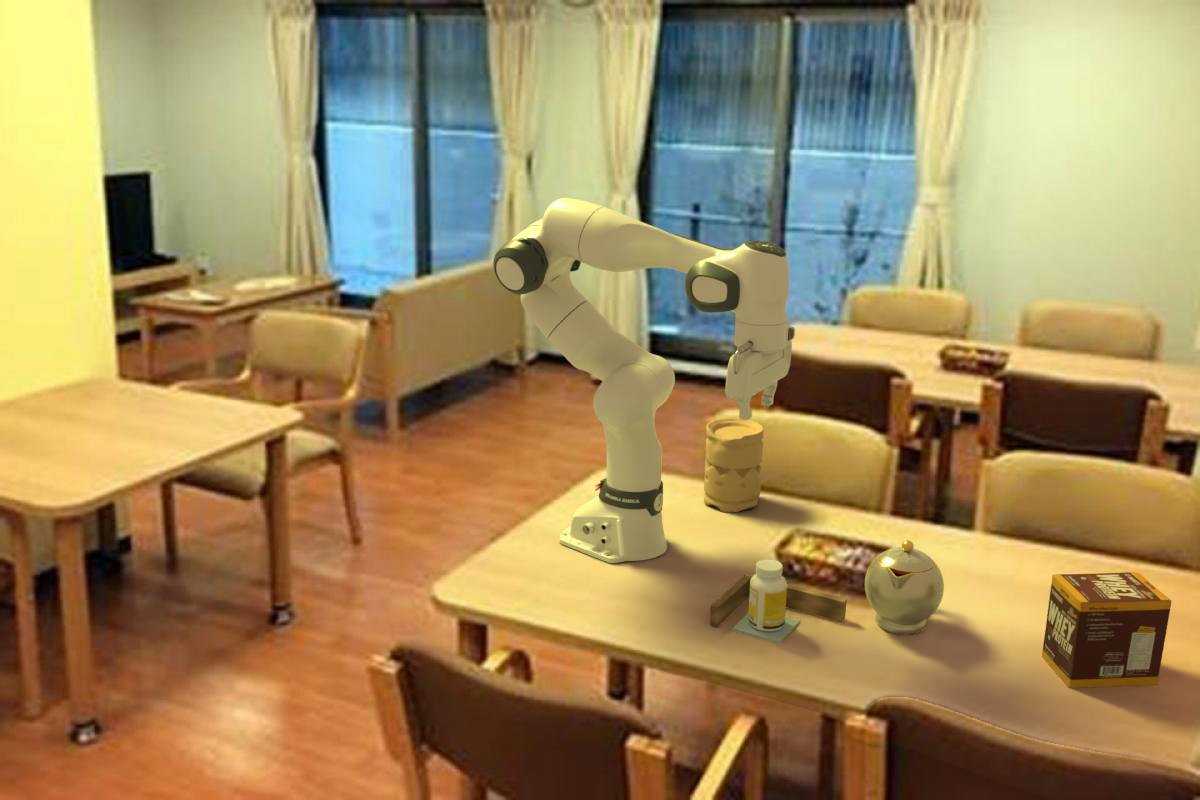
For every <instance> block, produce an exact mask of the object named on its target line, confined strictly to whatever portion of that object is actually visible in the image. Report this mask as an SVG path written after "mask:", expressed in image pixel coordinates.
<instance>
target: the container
mask: <svg viewBox="0 0 1200 800" xmlns="http://www.w3.org/2000/svg"><path fill="white" fill-rule="evenodd" d="M705 428H706V430H705V431H706V437H707V438H706V440H705V461H704V480H703V481H704V482H703V483H704V486H703V491H704V494H703V503H704V505H706V506H712V507H713V506H714V507H716V508H718V509H719V510H720V511H721V512H722V513H727V514H729V513H731V514H732V513H736V514H737V513H740V512H742V511H746V510H748V509H751V508H755V507H757V505H758V503H759V497H760V495H761V476H760V474H761V471H762V470H761V469H762V467H761V465H760V464H762V462H763V449H764V445H763V444H764V442H763V439H764V431H765V429H764V426H763V425H762V424H760V423H759V422H757V421H754V420H752V419H749V420H741V419H740V418H739V417H723V418H718V419H717V418H716V419H714V420H712V421H710V422H708V423H706V427H705Z"/></svg>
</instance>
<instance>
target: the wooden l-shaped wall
mask: <svg viewBox="0 0 1200 800" xmlns="http://www.w3.org/2000/svg"><path fill="white" fill-rule="evenodd" d="M754 575H755V574H749V575H747V574H744V575H742V576H741V577H740V578H739V579H738V580H737V581H736V582H735V583H734V584H732V586H730V587H729V588H728V589H727V590H726V591H725V592H724V593H722V594H721V595H720V596H719V597H718V598H717V599H716V600H715V601H714V602H712V604H710V609H709V613H710V614H709V626H710V627H714V628H717V629H718V628H719V627H720V626H721V625H722V624H723V623H724V622H726V621H727V619H729V617H731V615H733V614H734V613H735V612H736V611H737V610H738V609H739V608H740V607H741V606H742V605H743V604H744V603H745V602H746V601H747V600H748V599H749V596H750V580H751V578H752V577H753V576H754ZM847 602H848V601H847V598H845V597H840V596H836V595H832V594H828V593H824V592H822V591H818V590H817V591H816V590H813V589H809V588H805V587H802V586H797V585H793V584H789V583H787V594H786V609H789V610H794V611H797V612H802V613H806V614H810V615H813V616H815V617H816V616H817V617H821V618H825V619H828V620H832V621H835V622H840V623H843V622H844V621H845V620H846V613H847Z"/></svg>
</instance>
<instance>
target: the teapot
mask: <svg viewBox="0 0 1200 800" xmlns="http://www.w3.org/2000/svg"><path fill="white" fill-rule="evenodd" d="M914 545H915V544H914V543H913V542H912V541H911V540H910V539H909V540H908V539H906V540H903V541H902V543H901V546H899V547H898V546H897V547H891V548H888V549H887V550H884V551H883V552H881V553H879V555H877V556H876V557H875V558H874V559H873V560H872V561H871V562H870V564H869V566H868V568H867V570H866V573H865V577H864V592H865V596H866V598H867V601H868V603H869V605H870V606H871V608H872V609H873V610H874V611H875V612H876V613H875V621H876V623H877V625H878V626H879V627H880V628H881V629H883V630H885V631H887V632H889V633H892V634H897V635H914V634H918V633H921V632H922V631H923V630H924V629H925V628H926V625H927V619H929V618H930V617H931V616H932V615H933V614H934V613H935V612H936V611H937V609H938V608H939V607H940V605H941V602H942V600H943V597H944V591H945V584H944V583H945V582H944V578H943V574H942V571H941V569H940V568H939V566H938V564H937V563H936V562H935V561H934V559H932V558H931V556H929V555H928V554H927V553H925V552H923V551H921V550H919V549H918V548H915V546H914Z"/></svg>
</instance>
